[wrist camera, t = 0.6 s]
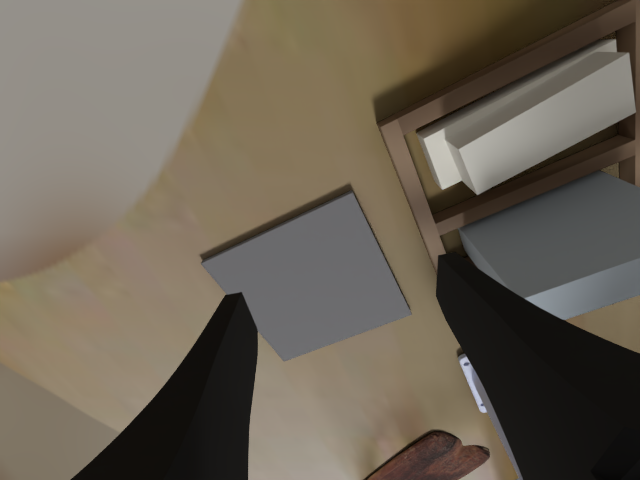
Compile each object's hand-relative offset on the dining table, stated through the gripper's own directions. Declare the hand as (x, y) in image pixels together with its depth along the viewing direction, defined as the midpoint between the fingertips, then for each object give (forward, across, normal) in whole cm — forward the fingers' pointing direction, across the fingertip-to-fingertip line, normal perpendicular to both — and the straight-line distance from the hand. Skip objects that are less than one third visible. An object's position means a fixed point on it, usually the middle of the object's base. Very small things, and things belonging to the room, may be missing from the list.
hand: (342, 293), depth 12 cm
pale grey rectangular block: (+10, -14, +5) cm, 17 cm away
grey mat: (+10, +2, +9) cm, 14 cm away
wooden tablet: (+8, -2, +44) cm, 45 cm away
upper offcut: (+9, -12, -2) cm, 15 cm away
